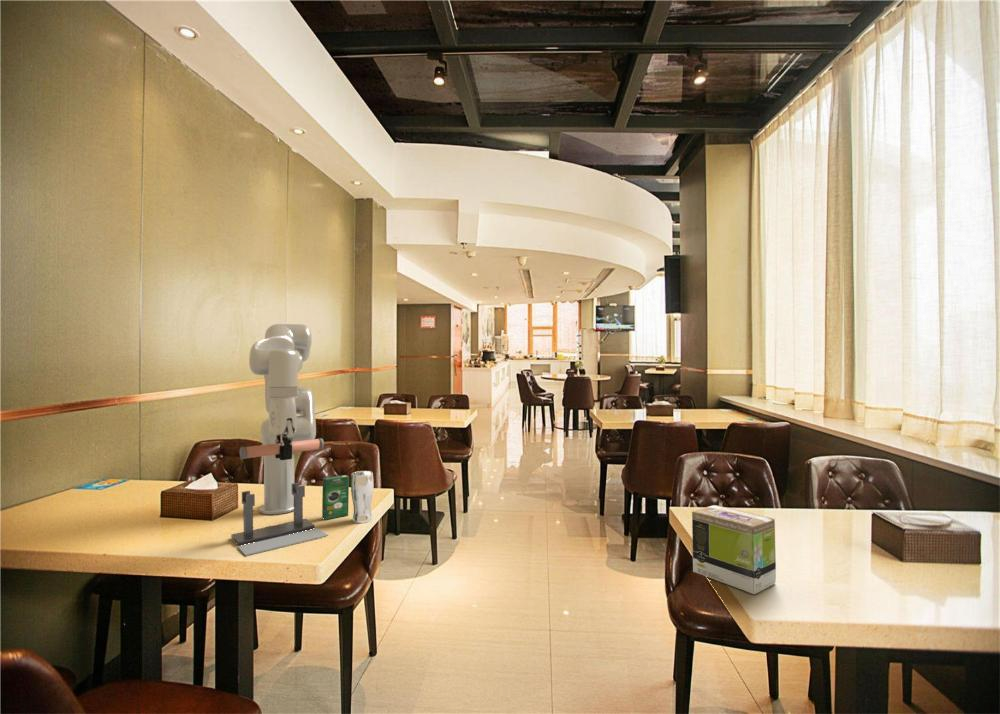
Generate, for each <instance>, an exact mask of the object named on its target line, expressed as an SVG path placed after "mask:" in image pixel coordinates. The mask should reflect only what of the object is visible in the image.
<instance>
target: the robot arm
mask: <svg viewBox="0 0 1000 714" xmlns="http://www.w3.org/2000/svg"><path fill="white" fill-rule="evenodd" d="M312 338H313V336H312V333H311V330H310V328H309V327H308V326H307V325H305V324H299V323H298V324H296V323H292V324H291V323H277V324H272V325H270V326H269V327H268V328H267V329H266V331H265V333H264V338H263V339H261V340H257V341H256V342H254V343H253V344H252V345H251V347H250V350H249V358H248V359H249V363H248V364H249V369H250V371H251V372H252V373H253V374H254V375H257V376H263V377H264V401H265V402H264V403H265V404H264V405H265V410H266V411H267V413H268V418H267V419H265V420H264V421H263V422H262V423H261V426H260V434H261V436H260V437H261V441H262V445H269V444H278V443H281V446H280V454H277V455H269V456H263V484H264V485H263V486H264V487H263V488H264V489H263V492H264V493H263V498H264V504H263V505H261V506H260V507H259V510H258V511H259V513H260V514H262V515H271V516H272V515H282V514H287V513H292V512H294V495H292V484H293V483H295V456H294V454H293V453H292V442H295V441H304V440H313V439H316V436H317V424H316V423H317V421H316V408H315V407H316V406H315V405H316V404H315V397H314V393H313V390H311V389H310V388H308V387H298V386H299V385H298V380H299V379H298V373H299V372H300V371H301V370H302V369H303V364H304V363H303V362H306V361H307V360H308V359H309V357H310V354H311V346H312V341H313V339H312ZM291 511H292V512H291Z"/></svg>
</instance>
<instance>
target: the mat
mask: <svg viewBox="0 0 1000 714" xmlns="http://www.w3.org/2000/svg"><path fill="white" fill-rule="evenodd" d="M326 536H328V537H329V534H327V533H326V532H325V531H323V530H321V529H320V528H318V527H317V528H316V527H315V529H312V530H307V531H303V532H298V533H294V534H290V535H285V536H281V537H277V538H272V539H268V540H263V541H259V542H255V543H250V544H246V545H242V546H238V545H237V549H238V550H239V551H240V552H241V553H242V554H243V555H244V557H249V556H253V555H257V554H261V553H265V552H270V551H273V550H278V549H281V548H287V547H290V546H289V545H291V546H294V545H293V544H295V545H297V544H296V543H299V544H301V543H300V542H303V543H305V542H304V541H307V542H309V541H308V540H311V541H313V540H312V539H315V540H319V539H323V538H322V537H324V538H327V537H326ZM318 538H319V539H318ZM286 546H287V547H286Z"/></svg>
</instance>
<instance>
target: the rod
mask: <svg viewBox="0 0 1000 714" xmlns="http://www.w3.org/2000/svg"><path fill="white" fill-rule="evenodd" d="M280 446H281V443H278V444H269V445H263V444H260V445H253V446H252V445H251V446H241V447H240V448H239V459H240V460H246V459H251V458H258V457H259V458H260V457H264V456H269V455H277V454H280ZM324 446H325V442H324V439H323V438H321V437H320V438H319V437H318V438H315V439H313V440H304V441H295V442H292V454H293V453H299V452H308V451H317V450H324Z"/></svg>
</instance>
